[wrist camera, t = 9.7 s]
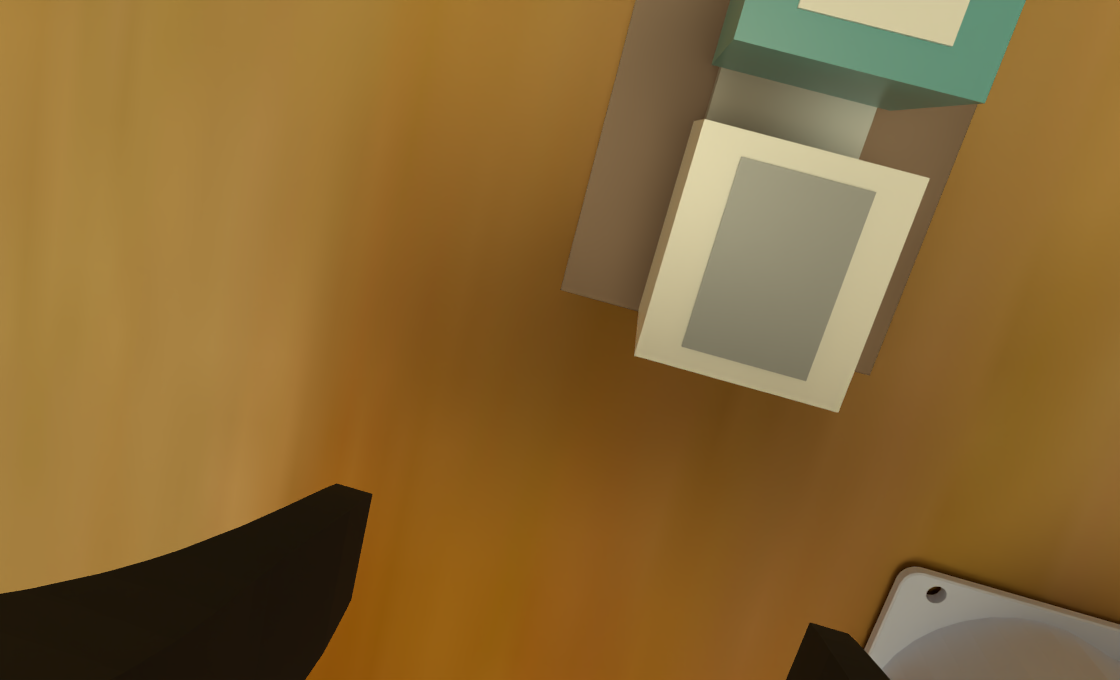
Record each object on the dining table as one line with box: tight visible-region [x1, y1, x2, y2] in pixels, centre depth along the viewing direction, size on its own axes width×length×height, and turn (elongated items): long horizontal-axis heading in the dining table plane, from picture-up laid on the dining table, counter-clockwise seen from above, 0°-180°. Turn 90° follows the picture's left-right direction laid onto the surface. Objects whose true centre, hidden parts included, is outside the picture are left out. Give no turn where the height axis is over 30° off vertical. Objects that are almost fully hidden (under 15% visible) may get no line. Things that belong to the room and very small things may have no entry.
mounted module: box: [634, 119, 930, 413], centre depth 16 cm, size 4×4×4 cm
